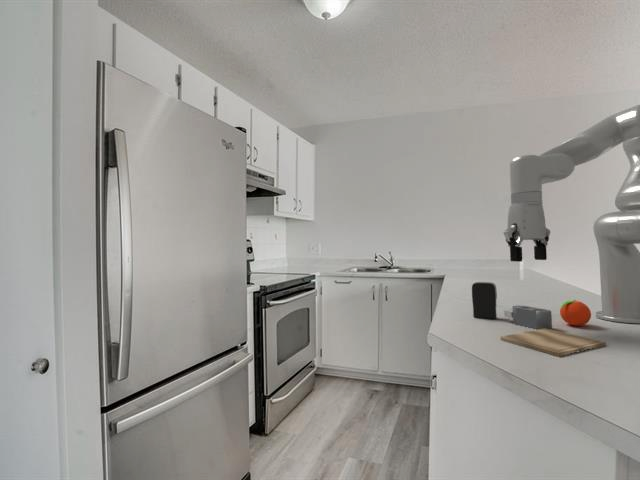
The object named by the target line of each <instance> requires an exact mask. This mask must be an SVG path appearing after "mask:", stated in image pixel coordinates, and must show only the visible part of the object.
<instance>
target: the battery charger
mask: <svg viewBox="0 0 640 480" xmlns="http://www.w3.org/2000/svg"><path fill="white" fill-rule="evenodd" d="M471 299H472V313H473V314H472V315H473V318H478V319H488V320H496V319H497V318H498V314H497V299H498V294H497V285H496V284H495V283H494V282H491V281H476V282H474V283H472V284H471Z"/></svg>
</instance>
